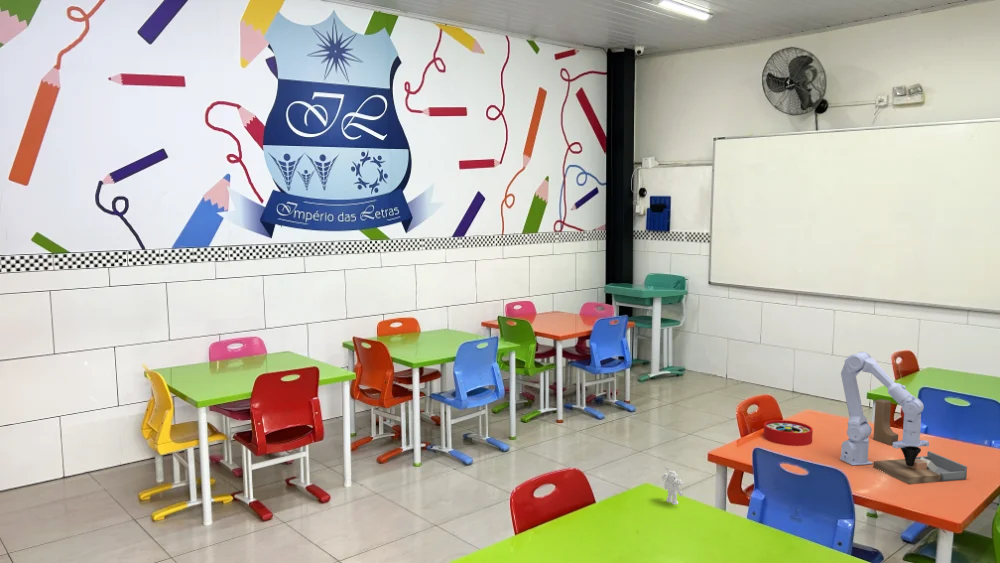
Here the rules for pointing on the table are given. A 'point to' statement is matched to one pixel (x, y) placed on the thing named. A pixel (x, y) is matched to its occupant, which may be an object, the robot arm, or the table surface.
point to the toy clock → (788, 433)
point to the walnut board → (906, 472)
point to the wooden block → (883, 423)
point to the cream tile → (929, 464)
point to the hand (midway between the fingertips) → (909, 465)
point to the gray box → (947, 467)
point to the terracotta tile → (919, 464)
